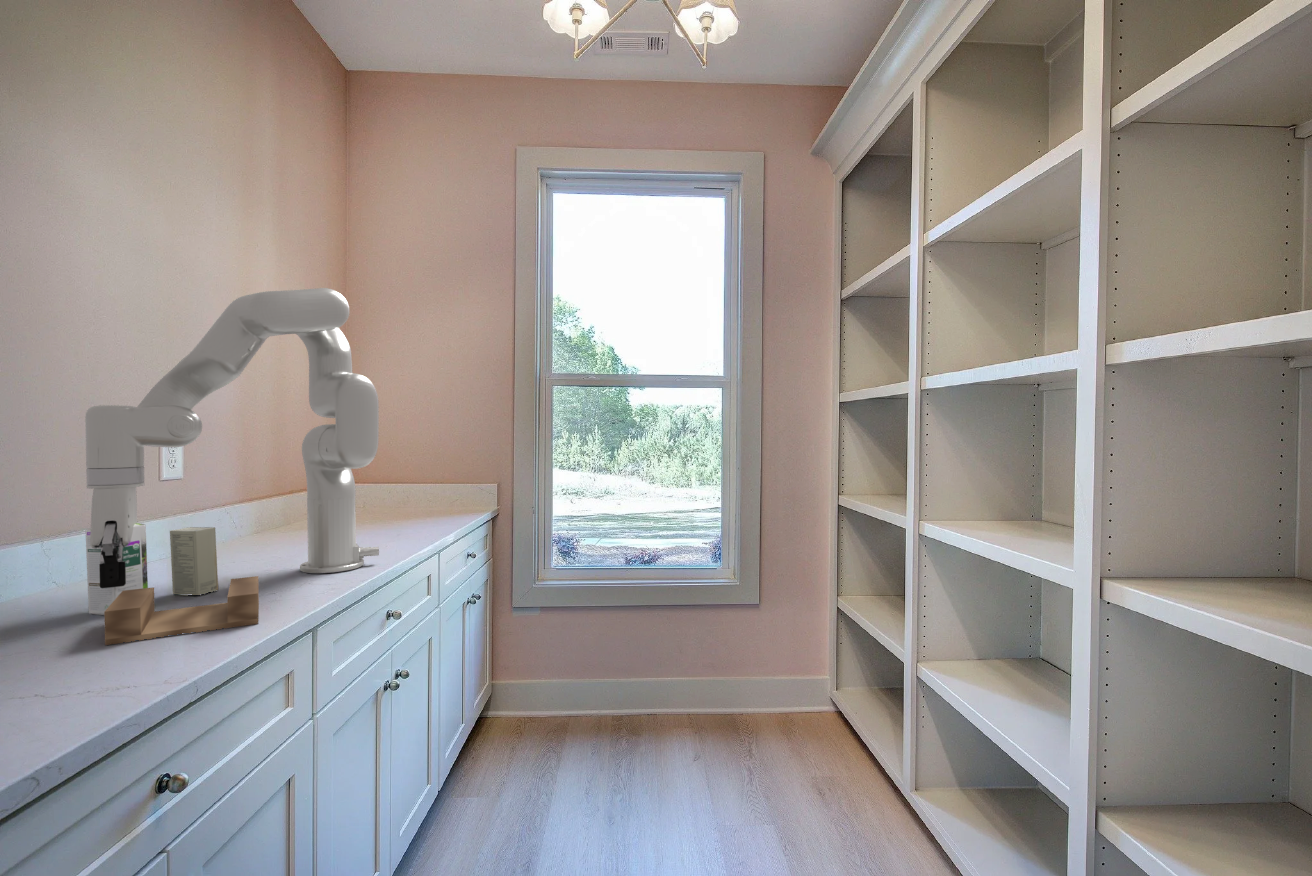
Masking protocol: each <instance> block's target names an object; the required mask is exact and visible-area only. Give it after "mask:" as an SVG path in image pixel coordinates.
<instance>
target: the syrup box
mask: <svg viewBox="0 0 1312 876" xmlns="http://www.w3.org/2000/svg"><path fill="white" fill-rule="evenodd" d="M90 534H91V527H90V528H86V529H85V549H86V550H85V552H86V553H85V554H86V573H87V574H86V575H87V576H86V577H87V578H86V579H87V580H86V581H87V602H88V613H89V614H90V615H98V616H99V615H100V616H104V612H105V610H106V609H107V608H108V607H109V606H110V605H111V604H112V602H113V601H114V600H115V599H116V598H117V597H118V596H119V594H120V593H121V592H122V591H124V590H134V589H143V588H149V586H148V585H149V581H148V554H147V526H146V524H145V523H138V522H137V523H136V524H135V525H134V526H133V532H132V538H131V542H130V544H128V545H127V546H124V554H123V561H125V568H126V584H125V585H124V586H120V587H111V588H100V567H99V564H100V556H101V546H102V544H100V545H98V546H96V547H98V548H96V549H93V548H92V547H91V546H90ZM101 542H102V540H101ZM101 542H100V543H101ZM115 543H120V540H118V535H117V529H116V534H115V539H114V544H115ZM117 550H119V549H117ZM117 552H118V551H117Z"/></svg>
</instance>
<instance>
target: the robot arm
mask: <svg viewBox="0 0 1312 876" xmlns="http://www.w3.org/2000/svg"><path fill="white" fill-rule="evenodd" d="M349 317H350V306H349V302H348V301H347V299H346V298H345V296H343V294H341V293H340V292H338V291H336V290H335V289H331V288H328V287H319V288H307V289H294V290H293V289H290V290H289V289H288V290H270V291H269V290H268V291H260V292H255V293H252V294H251V293H250V294H246V295H243V296H240V297H237V298H236V299H234V300H233V301H231V302H230V304H228V306H227V307H226V308H225V309H224V311H223V312H221V314H220V316H219V317H218V318H217V319H216V320H215V322H214V323H213V324H212V325H211V327H210V328H209V329H208V331H207V332H206V333H205V335H204V336H203V337H202V338H201V339H200V341H199V342H198V343H197V344H196V345H195V346H194V348H193V349H192V350H191V351H190V352H189V353H188V354H187V355H185V357H184V358H182V359H181V360H180V361H179V362H178V363H177V364H176V365H175V366H174V367H173V368H172V369H170V371H168V372H167V373H166V374H165V375H164V376H163V377H161V379H159V381H158V382H156V384H154V386H153V387H152V388H151V389H149V390H150V391H148V392H147V394H146V395H145V396H144V398H143V399H142V400H141V402H140V403H139V404H138V405H137V406H133V405H119V404H117V405H115V404H114V405H107V404H106V405H104V404H103V405H101V404H100V405H94V406H91V407H89V408H88V409H87V410H86V412H85V416H84V417H85V419H84V422H85V467H86V468H85V469H86V472H85V473H86V475H85V476H86V489H92V490H93V491H92V498H91V511H90V512H91V513H90V528H91V534H90V546H91V547H92V548H93V549H96V548H98V547H96V546H98V545H100V544H102V546H101V556H100V564H99V567H100V588H111V587H120V586H124V585H125V584H126V568H125V561H123V554H124V546H127V545H128V544H130V542H131V538H132V532H133V526H134V525H135V524H136V523H138V499H137V497H138V495H137V487H144V486H145V447H146V446H147V447H151V448H152V447H153V448H180V447H185V446H187V445H190V444H192V443H194V442H195V441H196V440H198V438H199V437H200V435H201V434H202V431H203V422H202V420H201V418H200V416H199V415H198V414H197V413H196V412H195V411H194V410H193V409H194V408H195V407H196V406H197V405H198V404H200V402H202V401H203V400H204V399H205V398H206V397H208V396H209V395H210V394H212V393H214V392H216V391H218V390H220V389H222V388H224V387H226V386H227V385H229V384H230V383H232V382H233V381H235V380H236V379H237V378H239V377H240V376H241V374H243V372H244V370H245V369H246V368H247V366H248V364H250V362H251V361H252V359H253V358H254V357H255V356H256V354H257V352H258V351H259V350H260V348H261V347H262V346H263V344H264V343H265V342H266V341H267V339H268V338H269V337H275V336H282V335H297V337H299V339H300V340H301V341H302V343H303V344H304V346H305V348H306V351H307V356H308V400H309V401H308V403H309V407H310V409H311V410H312V411H313V413H314V414H316V415H317V416H319V417H322V418H329V419H335V423H334V424H333V423H330V424H327V423H326V424H320V425H317V426H316V427H313V428H312V429H310V430H309V431H308V432H306V433H307V434H305V436H304V437H303V441H302V442H301V443H302V444H301V454H302V460H303V464H304V471H305V477H306V493H307V494H306V509H307V510H306V512H307V514H306V515H307V517H306V518H307V561H305V562H302V563H301V564H300V565H299V571H301V572H302V573H308V574H332V573H337V572H338V573H341V572H345V571H347V572H348V571H352V570H355V569H358V568H361V567H363V566H364V564H365V560H364V557H375V556H377V557H378V556H380V548H379V546H373V547H372V546H367V547H363V546H361V547H360V546H359V545H358V543H357V534H356V533H357V528H356V527H357V526H356V525H357V522H356V521H357V520H356V496H357V495H356V491H357V490H356V482H355V477H354V474H353V470H352V469H354V470H355V469H357V470H358V469H362V468H364V467H365V468H366V467H367V466H369V465H370V463H372V462H373V461H374V459H375V458H376V455H377V453H378V449H379V436H380V435H379V434H380V433H379V429H380V428H379V427H380V426H379V424H380V423H379V419H380V415H379V412H380V411H379V408H380V407H379V406H380V405H379V402H380V401H379V395H378V392H377V388H376V387H375V385H374V383H373V382H372V380H370V379H369V378H368V377H367V376H364V375H362V374H359V373H354V372H353V361H352V360H353V359H352V349H351V346H350V343H349V341H348V339H347V338H346V336H345V334H344V332H343V331H342V330H341V329H340V328H341V327H342V326H344V325H345V323H347V321H348V320H349ZM116 529H117V535H118V540H120V543H115V544H114V539H115V534H116ZM101 540H102V542H101ZM100 542H101V543H100ZM117 549H119V550H117ZM117 551H118V552H117Z"/></svg>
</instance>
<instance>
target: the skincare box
mask: <svg viewBox="0 0 1312 876" xmlns="http://www.w3.org/2000/svg"><path fill="white" fill-rule="evenodd" d="M216 534H217V533H216V527H213V526H208V527H205V526H190V527H184V528H183V527H182V528H179V529H171V530H169V541H170V542H169V543H170V563H171V581H172V583H171V584H172V586H171V587H172V595H173V594H192V595H200V594H204V595H206V594H205V593H208V592H211V593H214V592H217V591H219V578H218V577H219V575H218V574H219V573H218V560H217V559H218V557H217V538H216V536H217V535H216ZM216 590H217V591H216ZM213 591H214V592H213ZM208 594H209V593H208ZM200 596H201V595H200Z"/></svg>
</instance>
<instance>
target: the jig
mask: <svg viewBox="0 0 1312 876" xmlns="http://www.w3.org/2000/svg"><path fill="white" fill-rule="evenodd" d="M259 592H260V591H259V575H256V576H247V577H238V578H237V577H236V578H230V582H229V587H228V592H227V597H226V598H227V599H226V600H227V601H226V602H222V603H213V604H205V605H198V606H197V605H196V606H188V607H181V608H174V609H165V610H158V611H155V587H148V588H143V589H134V590H124V591H122V592H121V593H120V594H119V596H118V597H117V598H116V599H115V600H114V601H113V602H112V604H111V605H110V606H109V607H108V608H107V609H106V610H105V612H104V615H103V617H104V646H109V645H116V644H117V645H118V644H124V643H123V642H125V643H130V642H131V641H132V642H136V641H135V640H139V641H145V640H144V639H147V640H151V639H152V638H154V639H157V638H156V637H161V638H165V637H164V636H168V635H175V636H178V635H177V634H182V633H189V634H192V633H191V632H196V633H201V632H202V631H203V632H208V631H207V630H210V631H216V629H217V630H223V629H222V628H224V629H230V628H238V627H245V626H246V627H247V626H251V625H252V626H253V625H258V624H259V619H260V618H259V614H260V613H259V611H260V610H259V609H260V608H259V605H260V603H259V602H260V598H259V595H260V594H259ZM182 635H183V634H182ZM168 637H169V636H168ZM152 640H153V639H152ZM132 642H131V643H132Z"/></svg>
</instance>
